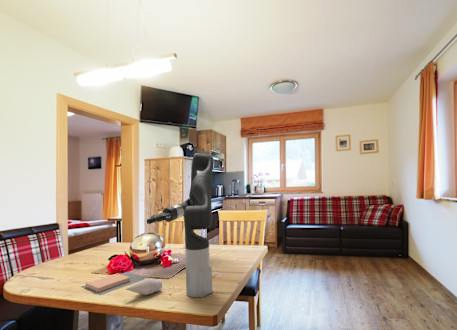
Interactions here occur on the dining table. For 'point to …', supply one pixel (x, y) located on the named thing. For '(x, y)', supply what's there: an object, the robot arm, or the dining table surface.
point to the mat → (133, 279)
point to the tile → (107, 282)
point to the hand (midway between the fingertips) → (147, 221)
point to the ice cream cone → (146, 286)
